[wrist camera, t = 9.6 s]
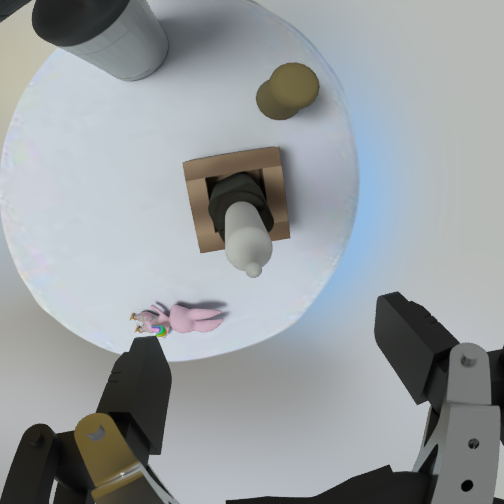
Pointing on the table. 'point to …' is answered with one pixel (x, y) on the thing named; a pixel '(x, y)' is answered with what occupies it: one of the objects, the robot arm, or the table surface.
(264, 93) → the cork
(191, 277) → the table surface
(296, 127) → the table surface
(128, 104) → the table surface
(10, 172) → the table surface
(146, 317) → the pink rainbow-tailed figurine
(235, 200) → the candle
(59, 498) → the robot arm
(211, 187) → the box
